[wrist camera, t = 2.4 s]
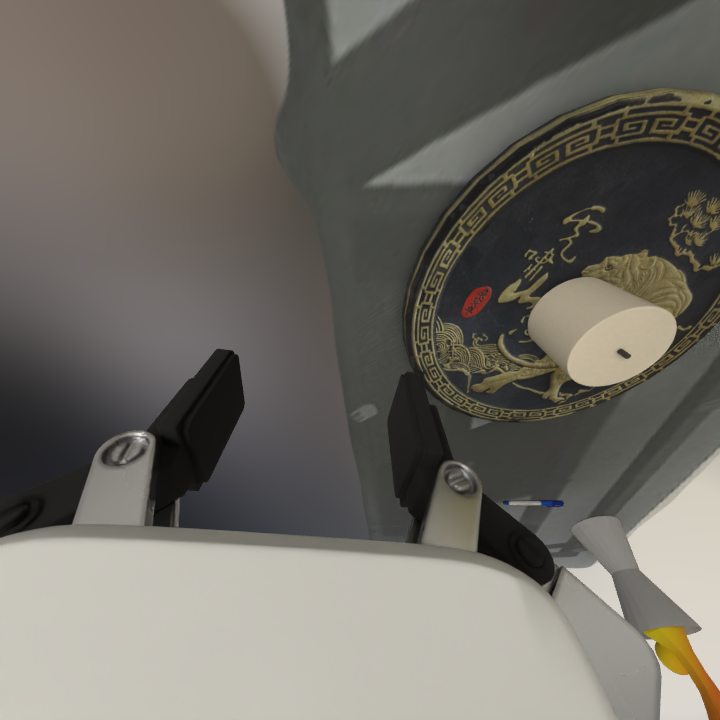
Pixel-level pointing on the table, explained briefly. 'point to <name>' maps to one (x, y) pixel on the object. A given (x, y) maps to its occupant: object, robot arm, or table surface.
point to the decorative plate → (569, 249)
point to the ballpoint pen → (535, 503)
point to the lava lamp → (647, 605)
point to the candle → (600, 331)
